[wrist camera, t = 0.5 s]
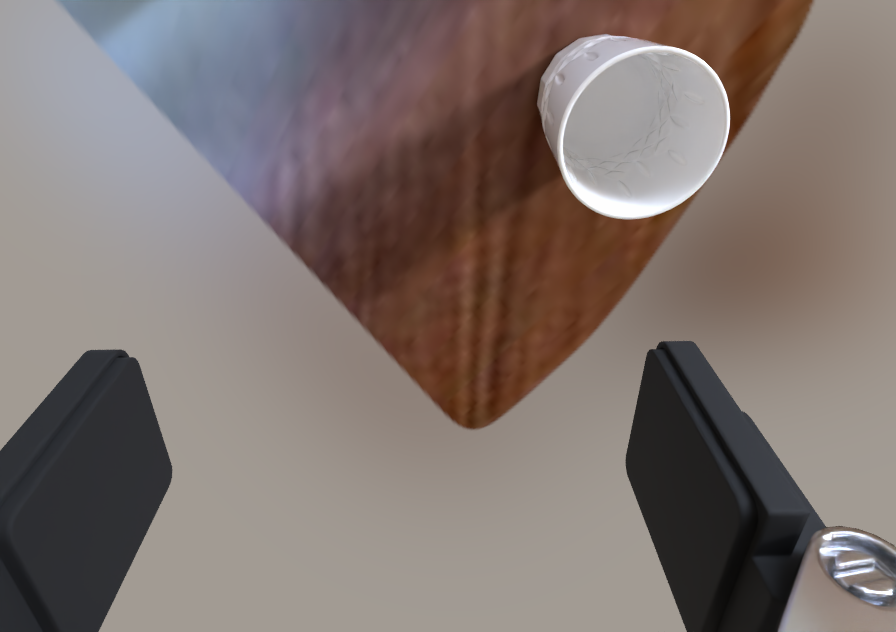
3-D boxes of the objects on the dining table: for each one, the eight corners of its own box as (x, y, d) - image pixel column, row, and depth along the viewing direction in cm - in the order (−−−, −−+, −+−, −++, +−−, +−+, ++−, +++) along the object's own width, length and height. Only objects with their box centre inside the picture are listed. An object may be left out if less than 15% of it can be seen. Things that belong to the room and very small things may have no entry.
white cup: (538, 16, 34) (575, 38, 26) (674, 29, 35) (754, 54, 26) (518, 155, 38) (544, 214, 30) (640, 164, 39) (700, 224, 30)
